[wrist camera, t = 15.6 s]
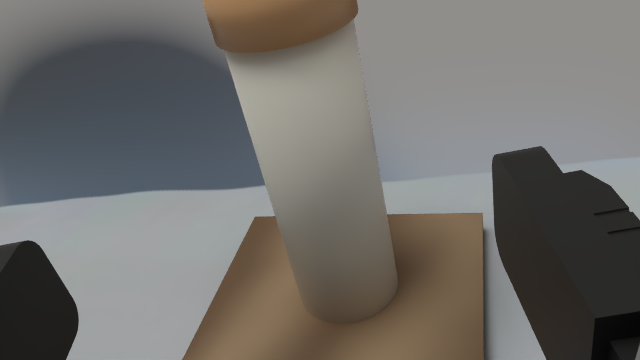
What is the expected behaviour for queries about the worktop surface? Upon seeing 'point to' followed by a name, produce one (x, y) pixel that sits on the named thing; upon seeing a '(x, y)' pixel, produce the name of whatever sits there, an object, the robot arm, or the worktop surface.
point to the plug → (313, 146)
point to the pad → (366, 335)
